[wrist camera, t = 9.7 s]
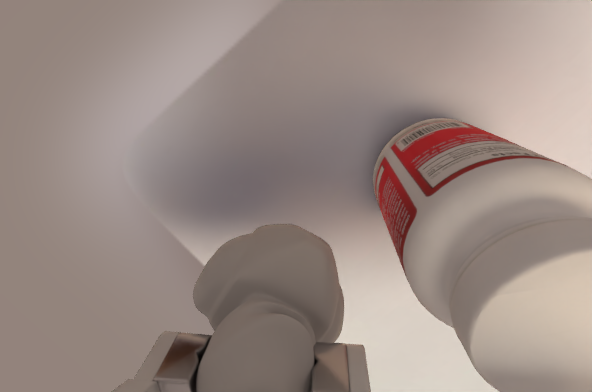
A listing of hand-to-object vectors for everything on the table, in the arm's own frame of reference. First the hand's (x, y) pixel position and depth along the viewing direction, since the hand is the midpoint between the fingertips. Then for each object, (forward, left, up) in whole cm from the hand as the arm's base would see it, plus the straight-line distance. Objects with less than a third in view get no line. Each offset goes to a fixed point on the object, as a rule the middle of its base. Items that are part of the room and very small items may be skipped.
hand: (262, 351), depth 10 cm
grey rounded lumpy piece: (0, 0, -5) cm, 5 cm away
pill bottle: (-3, +8, -10) cm, 13 cm away
